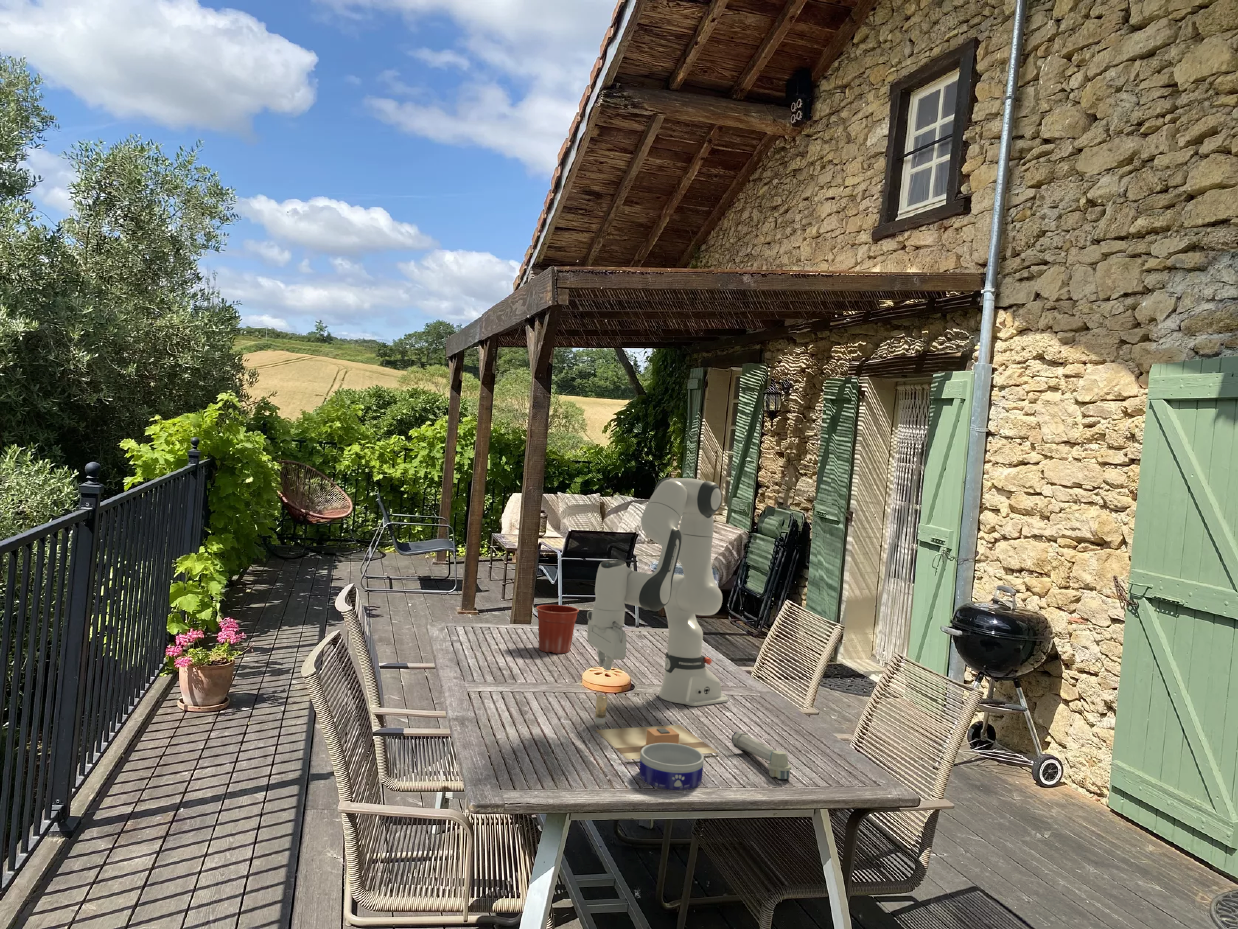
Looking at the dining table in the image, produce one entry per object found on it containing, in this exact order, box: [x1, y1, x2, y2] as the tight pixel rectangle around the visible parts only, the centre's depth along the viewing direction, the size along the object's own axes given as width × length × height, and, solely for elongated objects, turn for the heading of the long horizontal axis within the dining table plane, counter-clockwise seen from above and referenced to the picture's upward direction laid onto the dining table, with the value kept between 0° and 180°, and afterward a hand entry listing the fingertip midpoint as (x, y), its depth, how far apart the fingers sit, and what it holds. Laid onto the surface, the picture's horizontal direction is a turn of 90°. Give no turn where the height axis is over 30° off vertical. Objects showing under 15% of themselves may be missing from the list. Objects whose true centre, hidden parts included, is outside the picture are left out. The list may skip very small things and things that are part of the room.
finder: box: [646, 728, 679, 745], centre depth 219 cm, size 7×5×4 cm
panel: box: [595, 724, 719, 765], centre depth 223 cm, size 26×22×1 cm
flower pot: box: [535, 604, 580, 654], centre depth 321 cm, size 16×16×16 cm
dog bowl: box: [639, 743, 705, 791], centre depth 201 cm, size 15×15×6 cm
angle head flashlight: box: [731, 731, 792, 780], centre depth 217 cm, size 5×7×25 cm
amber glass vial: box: [594, 694, 608, 728], centre depth 233 cm, size 3×3×9 cm
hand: (604, 667), depth 232 cm, fingers closed
